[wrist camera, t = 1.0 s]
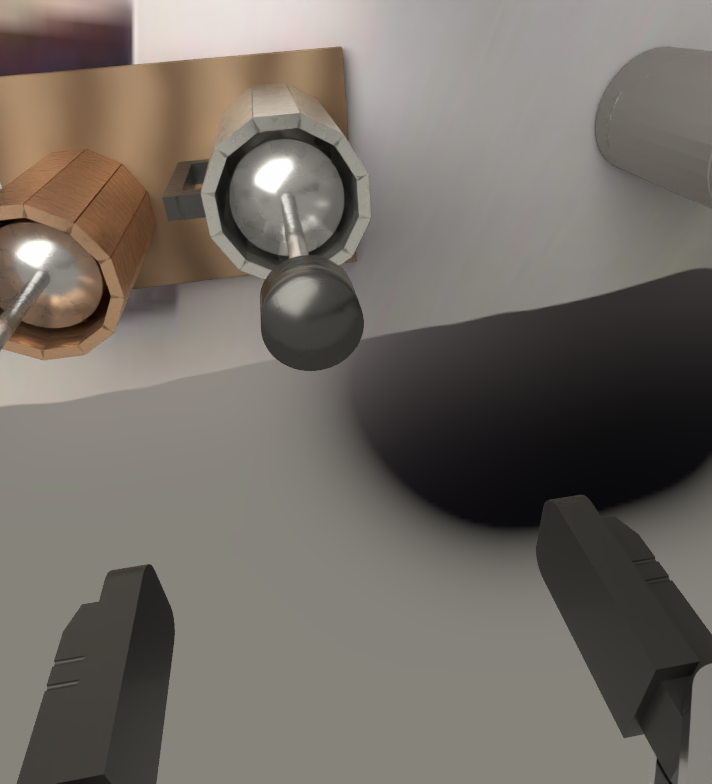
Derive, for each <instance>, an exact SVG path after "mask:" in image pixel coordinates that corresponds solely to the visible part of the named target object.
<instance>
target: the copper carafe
mask: <svg viewBox="0 0 712 784" xmlns="http://www.w3.org/2000/svg"><path fill="white" fill-rule="evenodd" d="M121 164H122V163H120V162H118V161H116V160H113V159H111V158H108V157H106V156H104V155H101V154H99V153H96V152H94V151H92V150H89V149H87V150H86V149H77V150H67V151H57V152H51V153H50V154H48V155H47V156H45V157H44V158H43V159H41V160H40V161H39V162H37V163H36V164H35V165H33V166H32V167H31V168H29V169H28V170H26V171H25V172H24V173H22V174H21V175H20V176H18V177H17V178H16V179H14V180H13V181H11V182H10V183H9V184H7V185H6V186H5V187H3V188H2V189H1V190H0V227H2V226H4V225H6V224H8V223H11V222H14V221H19V220H33V221H36V222H39V223H42V224H45V225H47V226H50V227H53V228H56V229H58V230H61V231H64V232H67V233H69V234H70V235H71V236H72V237H73V238H74V239H75V240H76V241H77V242H78V243H79V244H80V245H81V246H82V247H83V248H84V249H85V250H87V251H88V252H89V253H90V254H91V255H92V256H93V257H94V258H95V259H96V260H97V261H98V262H99V263H100V266H101V269H102V272H103V277H104V290H103V295H102V297H101V300H100V302H99V304H98V306H97V307H96V309H95V310H94V312H93V313H92V314H91V315H90V316H89V317H88V318H86V319H85V320H83V321H82V322H80V323H77V324H75V325H72V326H68V327H63V328H46V327H39V326H35V325H32V324H29V323H26V322H23V321H22V322H21V323H20V324H19V326H18V327H17V328H16V330H15V331H14V333H13V334H12V335H11V337H10V338H9V340H8V341H7V342H6V344H5V345H4V346H3V348H2V349H4V350H8V351H12V352H15V353H19V354H22V355H26V356H30V357H33V358H37V359H40V360H43V359H44V360H50V359H58V358H65V357H73V356H80V355H85V354H87V353H88V352H90V351H91V350H92V349H93V348H95V347H96V346H97V345H99V344H100V343H101V342H103V341H104V340H105V339H107V338H108V337H109V336H111V335H112V334H113V333H114V332H115V330H116V327H117V325H118V322H119V320H120V318H121V315H122V313H123V310H124V308H125V305H126V303H127V301H128V298H129V296H130V293H131V291H132V289H133V286H134V284H135V281H136V279H137V276H138V274H139V272H140V269H141V267H142V264H143V262H144V260H145V257H146V255H147V252H148V250H149V246H150V243H151V240H152V236H153V233H154V230H155V226H156V220H155V216H154V213H153V209H152V205H151V202H150V198H149V194H148V192H147V190H146V189H145V188H144V187H143V185H142V184H141V183H140V182H139V181H138V180H137V179H136V178H135V177H134V176H133V174H132V173H131V172H130V171H129V170H128V169H127V168H126V167H125V166H124V165H123V164H122V165H121ZM4 311H5V310H3V309H2V308H1V307H0V316H1V315H2V313H3V312H4Z"/></svg>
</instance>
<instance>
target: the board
mask: <svg viewBox="0 0 712 784" xmlns="http://www.w3.org/2000/svg"><path fill="white" fill-rule="evenodd" d="M278 83H286V84H289V85H291V86H293V87H295V88H297V89H299V90H301V91H303V92H305V93H307V94H308V95H310V96H312V97H314V98H316V99H317V100H318V101H319V102H320V103H321V105H322V106H323V107H324V109H325V110H326V111H327V113H328V114H329V116H330V117H331V118H332V120H333V121H334V122H335V124H336V125H337V126H338V128H339V129H340V130H341V132H342V133H343V134H344V136H345V137H346V139H347V141H348V127H347V112H346V97H345V82H344V67H343V53H342V47H330V48H319V49H308V50H296V51H285V52H273V53H262V54H251V55H239V56H228V57H216V58H205V59H193V60H182V61H171V62H159V63H148V64H136V65H125V66H114V67H102V68H91V69H79V70H68V71H56V72H45V73H34V74H22V75H11V76H0V183H1V185H2V187H5V186H6V185H7V184H9V183H10V182H11V181H13V180H14V179H16V178H17V177H18V176H20V175H21V174H22V173H24V172H25V171H26V170H28V169H29V168H31V167H32V166H33V165H35V164H36V163H37V162H39V161H40V160H41V159H43V158H44V157H45V156H47V155H48V154H50V153H51V152H57V151H67V150H77V149H86V150H87V149H89V150H92V151H94V152H96V153H99V154H101V155H104V156H106V157H108V158H111V159H113V160H116V161H118V162H120V163H122V164H123V165H124V166H125V167H126V168H127V169H128V170H129V171H130V172H131V173H132V174H133V176H134V177H135V178H136V179H137V180H138V181H139V182H140V183H141V184H142V185H143V187H144V188H145V189H146V190H147V192H148V194H149V198H150V202H151V205H152V209H153V213H154V216H155V220H156V226H155V230H154V233H153V236H152V240H151V243H150V246H149V250H148V252H147V255H146V257H145V260H144V262H143V264H142V267H141V269H140V272H139V274H138V276H137V279H136V281H135V284H134V286H133V289H138V288H146V287H154V286H162V285H170V284H178V283H186V282H194V281H202V280H211V279H219V278H227V277H235V276H243V275H251V274H249V273H246V272H243V271H241V270H240V269H238V268H237V267H236V266H235V264H234V263H233V262H232V261H231V260H230V259H229V258H228V256H227V255H226V254H225V253H224V252H223V251H222V250H221V249H220V247H219V246H218V245H217V244H216V243H215V242H214V241H213V239H212V238H211V236H210V233H209V228H208V224H207V219H206V217H205V218H196V219H187V220H178V221H169V222H168V218H167V214H166V210H165V207H164V203H163V199H162V197H163V194H164V192H165V190H166V188H167V186H168V183H169V181H170V179H171V177H172V175H173V173H174V170H175V168H176V166H177V164H178V162H182V161H192V160H202V159H210V155H211V151H212V147H213V143H214V140H215V137H216V134H217V131H218V127H219V124H220V121H221V118H222V115H223V112H224V109H225V108H226V107H227V106H228V105H229V104H230V103H232V102H233V101H234V100H235V99H236V98H238V97H239V96H240V95H241V94H242V93H244V92H245V91H246V90H247V89H248V88H250V87H252V86H257V85H267V84H278ZM348 142H349V141H348ZM122 164H121V165H122ZM202 185H203V184H196V187H195V189H202ZM351 256H352V257H351V258H349V259H348V260H347V261H345V262H344V263H348V262H356V261H357V260H356V250H355V252H354V254H353V255H351Z"/></svg>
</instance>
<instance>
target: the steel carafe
mask: <svg viewBox="0 0 712 784" xmlns="http://www.w3.org/2000/svg"><path fill="white" fill-rule="evenodd" d="M279 137H290V138H296V139H300V140H304V141H306V142H308V143H311V144H312V145H314V146H316V147H317V148H319V149H320V150H321V151H322V152H323V153H324V154H325V155H326V156H327V157H328V158H329V159H330V160H331V162H332V163H333V164H334V166H335V168H336V170H337V171H338V174H339V176H340V178H341V181H342V185H343V190H344V208H343V213H342V217H341V220H340V222H339V224H338V226H337V228H336V230H335V231H334V233H333V234H332V235H331V237H330V238H329V239H328V240H327V241H326V242H324V243H323V244H322V245H321V246H319V247H318V248H316V249H314V250H312V251H310V252H308V253H309V255H315V256H320V257H323V258H326V259H329V260H331V261H333V262H334V263H336V264H337V265H341V264H342V263H344V262H345V261H347V260H348V259H349V258H351V257H352V256H351V255H353V254H354V252H355V250H356V248H357V246H358V244H359V242H360V240H361V238H362V236H363V234H364V232H365V230H366V228H367V226H368V223H369V221H370V218H371V209H370V189H369V175H368V172H367V171H366V169H365V167H364V166H363V164H362V163H361V161H360V160H359V158H358V156H357V155H356V153H355V152H354V150H353V148H352V147H351V145H350V144H349V142H348V141H347V139H346V137H345V136H344V134H343V133H342V132H341V130H340V129H339V128H338V126H337V125H336V124H335V122H334V121H333V120H332V118H331V117H330V116H329V114H328V113H327V111H326V110H325V109H324V107H323V106H322V105H321V103H320V102H319V101H318V100H317V99H316V98H314V97H312V96H310V95H308V94H307V93H305V92H303V91H301V90H299V89H297V88H295V87H293V86H291V85H289V84H286V83H278V84H267V85H257V86H252V87H250V88H248V89H247V90H246V91H245V92H244V93H242V94H241V95H240V96H239V97H238V98H236V99H235V100H234V101H233V102H232V103H230V104H229V105H228V106H227V107H226V108H225V109H224V112H223V115H222V118H221V121H220V124H219V127H218V131H217V134H216V137H215V140H214V143H213V147H212V151H211V155H210V159H202V160H192V161H182V162H178V164H177V166H176V168H175V170H174V173H173V175H172V177H171V179H170V181H169V183H168V186H167V188H166V190H165V192H164V194H163V197H162V199H163V203H164V207H165V210H166V214H167V218H168V222H169V221H178V220H187V219H196V218H205V217H206V219H207V224H208V228H209V233H210V236H211V238H212V239H213V241H214V242H215V243H216V244H217V245H218V246H219V247H220V249H221V250H222V251H223V252H224V253H225V254H226V255H227V256H228V258H229V259H230V260H231V261H232V262H233V263H234V264H235V266H236V267H237V268H238V269H240V270H241V271H243V272H246V273H249V274H251V275H254V276H256V277H259V278H262V279H264V280H265V279H266V278H267V276H268V275H269V273H270V272H271V271H272V270H273V269H274V268H275V267H276V266H277V265H279V264H280V263H282V262H283V261H286V260H288V259H289V256H283V255H277V254H273V253H270V252H267V251H265V250H262V249H260V248H259V247H257V246H256V245H254V244H253V243H252V242H250V241H249V240H248V239H247V238H246V237H245V236H244V235H243V233H242V232H241V230H240V229H239V228H238V226H237V224H236V222H235V220H234V217H233V215H232V211H231V207H230V185H231V179H232V176H233V173H234V170H235V168H236V166H237V165H238V163H239V161H240V160H241V159H242V157H243V156H244V155H245V154H246V153H247V152H248V151H249V150H250V149H251V148H253V147H254V146H256V145H257V144H259V143H261V142H263V141H266V140H269V139H273V138H279ZM196 184H203V185H202V189H195V187H196Z"/></svg>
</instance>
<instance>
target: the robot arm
mask: <svg viewBox="0 0 712 784" xmlns="http://www.w3.org/2000/svg"><path fill="white" fill-rule="evenodd" d="M595 132H596V141H597V144H598V147H599V149H600V152H601V153H602V155H603V156H604V157H605V159H606V160H607V161H609V162H610V163H611V164H612V165H614V166H616V167H619V168H621V169H623V170H625V171H628V172H630V173H632V174H634V175H637V176H639V177H641V178H643V179H645V180H647V181H650V182H652V183H654V184H657V185H659V186H661V187H663V188H666V189H668V190H670V191H673V192H675V193H677V194H680V195H682V196H684V197H686V198H689V199H691V200H693V201H696V202H698V203H700V204H702V205H705V206H707V207H709V208H712V51H704V50H695V49H684V48H674V47H662V48H655V49H652V50H649V51H646V52H644V53H642V54H641V55H639V56H637V57H635V58H634V59H632V60H631V61H630V62H629V63H628V64H626V65H625V66H624V67H623V68H622V69H621V70H620V71H619V72H618V74H617V75H616V76H615V77H614V78H613V80H612V81H611V83H610V84H609V86H608V87H607V89H606V91H605V93H604V95H603V97H602V100H601V102H600V104H599V108H598V112H597V116H596V126H595ZM536 556H537V562H538V566H539V569H540V572H541V575H542V577H543V579H544V581H545V583H546V585H547V587H548V589H549V591H550V593H551V595H552V597H553V599H554V601H555V603H556V605H557V607H558V609H559V611H560V613H561V615H562V617H563V619H564V621H565V623H566V625H567V627H568V629H569V631H570V633H571V635H572V636H573V639H574V640H575V642H576V644H577V646H578V648H579V650H580V652H581V654H582V656H583V658H584V660H585V662H586V664H587V666H588V668H589V670H590V672H591V674H592V676H593V678H594V680H595V682H596V684H597V686H598V688H599V690H600V692H601V694H602V696H603V698H604V700H605V702H606V704H607V706H608V708H609V710H610V711H611V713H612V716H613V718H614V719H615V721H616V723H617V725H618V727H619V729H620V731H621V733H622V735H623V737H624V738H627V737H632V736H637V735H642V734H645V736H646V738H647V740H648V742H649V744H650V745H651V747H652V749H653V753H652V757H651V765H650V774H649V783H648V784H712V635H711V633H710V632H709V630H708V629H707V628H706V626H705V625H704V624H703V622H702V621H701V619H700V618H699V617H698V615H697V614H696V613H695V611H694V610H693V608H692V607H691V606H690V604H689V603H688V602H687V600H686V599H685V597H684V596H683V595H682V593H681V592H680V591H679V589H678V588H677V587H676V585H675V584H674V583H673V581H670V580H669V578H668V574H667V573H666V571H665V570H664V569H663V567H662V566H661V565H660V563H659V562H656V560H655V556H654V555H653V554H652V552H651V551H650V550H649V548H648V547H647V545H646V544H645V543H644V541H643V540H642V539H641V537H640V536H639V534H637V533H636V532H635V531H633V530H632V529H630V528H629V527H628V526H627V525H625V524H624V523H623V522H621V521H620V520H619V519H617V518H616V517H609V518H603V519H602V517H601V516H600V514H599V513H598V511H597V510H596V508H595V507H594V505H593V504H592V503H591V501H590V500H589V499H588V498H587V497H586V496H584V495H578V496H571V497H565V498H559V499H553V500H548V501H546V502H545V504H544V508H543V513H542V519H541V524H540V529H539V535H538V540H537V546H536ZM174 635H175V629H174V617H173V612H172V609H171V606H170V604H169V602H168V600H167V597H166V595H165V593H164V590H163V588H162V586H161V584H160V581H159V579H158V577H157V574H156V572H155V570H154V568H153V566H152V565H150V564H148V565H141V566H135V567H129V568H123V569H118V570H112V571H110V572H108V574H107V576H106V578H105V581H104V585H103V589H102V593H101V597H100V600H99V602H94V603H88V604H83V605H81V607H80V608H79V610H78V611H77V613H76V614H75V616H74V617H73V618H72V620H71V621H70V623H69V624H68V626H67V627H66V628H65V630H64V632H63V634H62V638H61V641H60V644H59V647H58V650H57V654H56V657H55V660H54V661H55V665H54V667H52V670H51V673H50V677H49V680H48V683H47V691H45V693H44V696H43V699H42V703H41V706H40V709H39V712H38V716H37V719H36V722H35V725H34V729H33V732H32V735H31V738H30V742H29V745H28V748H27V752H26V755H25V758H24V761H23V765H22V768H21V771H20V774H19V778H18V781H17V784H156V781H157V773H158V764H159V758H160V749H161V741H162V734H163V726H164V718H165V710H166V701H167V694H168V686H169V678H170V670H171V662H172V653H173V645H174Z"/></svg>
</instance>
